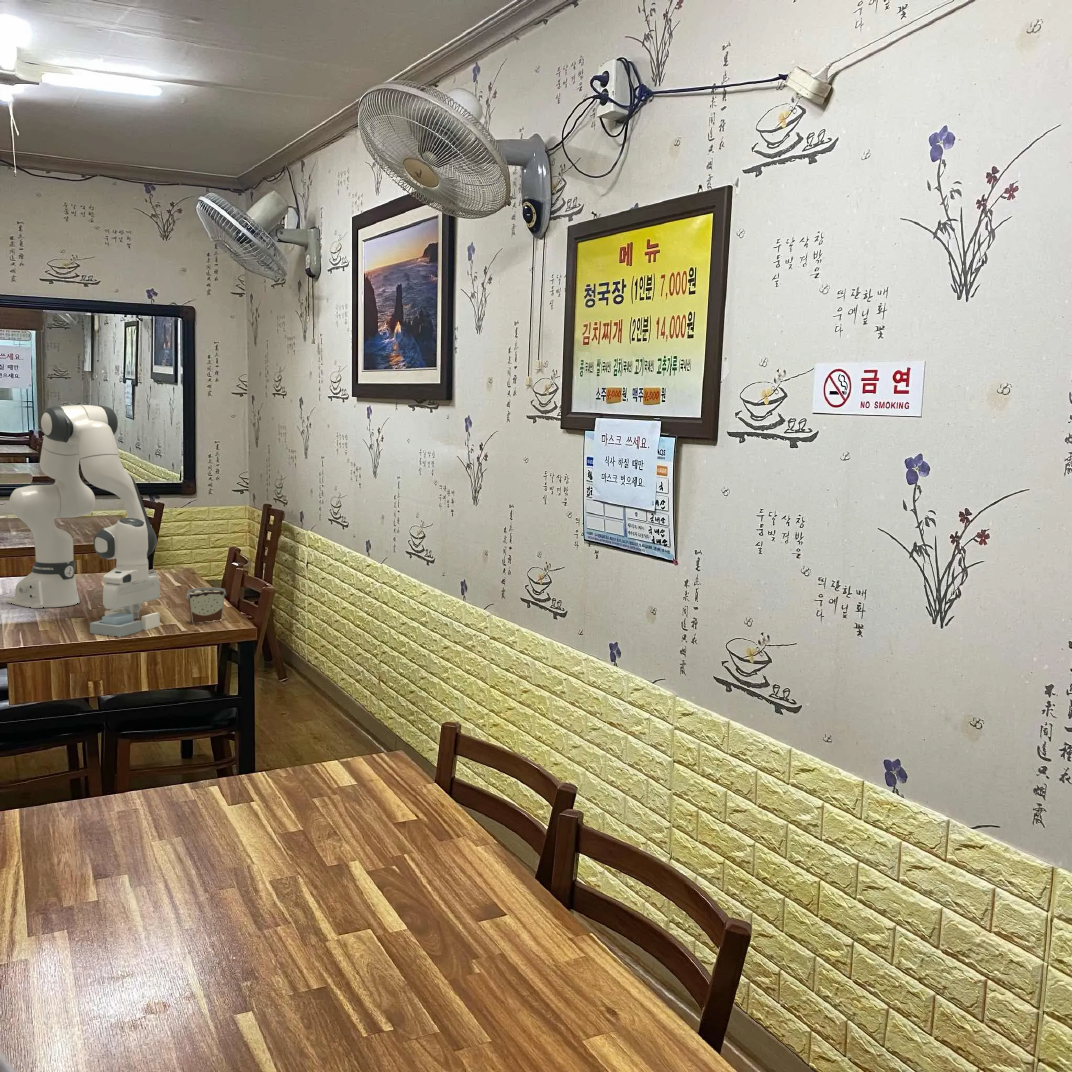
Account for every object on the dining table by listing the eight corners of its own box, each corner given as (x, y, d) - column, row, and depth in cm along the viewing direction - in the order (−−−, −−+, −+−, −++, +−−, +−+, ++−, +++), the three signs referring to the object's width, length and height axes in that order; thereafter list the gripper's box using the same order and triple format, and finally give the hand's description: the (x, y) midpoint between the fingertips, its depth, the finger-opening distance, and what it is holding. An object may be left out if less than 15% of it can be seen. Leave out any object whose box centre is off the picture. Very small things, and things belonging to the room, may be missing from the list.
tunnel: (105, 624, 292) (104, 611, 292) (119, 620, 298) (119, 607, 297) (145, 629, 288) (145, 616, 287) (159, 625, 293) (159, 612, 293)
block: (102, 633, 282) (101, 616, 281) (119, 628, 288) (119, 612, 288) (116, 635, 280) (115, 618, 280) (133, 630, 287) (133, 614, 286)
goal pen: (90, 633, 281) (89, 623, 281) (112, 627, 290) (112, 617, 289) (119, 637, 278) (119, 627, 277) (141, 630, 286) (141, 620, 286)
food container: (218, 616, 309) (218, 585, 308) (226, 620, 304) (226, 588, 303) (179, 621, 301) (179, 589, 299) (187, 624, 296) (187, 592, 295)
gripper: (148, 567, 299) (149, 611, 301) (98, 577, 280) (99, 624, 282) (165, 569, 297) (165, 613, 299) (116, 579, 278) (116, 626, 280)
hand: (133, 618), depth 290 cm, fingers closed
